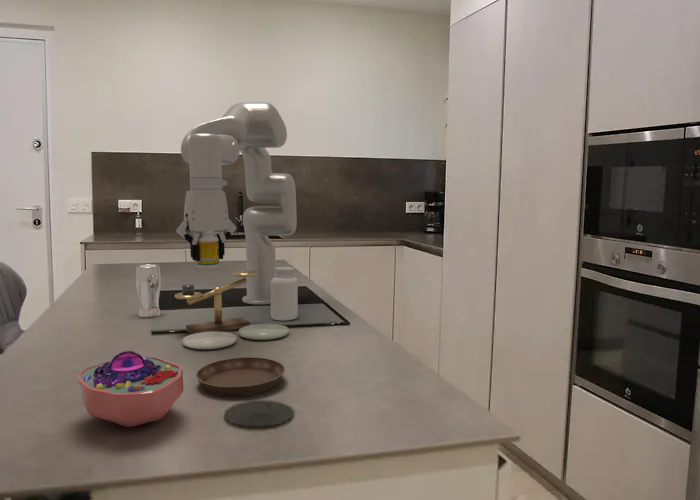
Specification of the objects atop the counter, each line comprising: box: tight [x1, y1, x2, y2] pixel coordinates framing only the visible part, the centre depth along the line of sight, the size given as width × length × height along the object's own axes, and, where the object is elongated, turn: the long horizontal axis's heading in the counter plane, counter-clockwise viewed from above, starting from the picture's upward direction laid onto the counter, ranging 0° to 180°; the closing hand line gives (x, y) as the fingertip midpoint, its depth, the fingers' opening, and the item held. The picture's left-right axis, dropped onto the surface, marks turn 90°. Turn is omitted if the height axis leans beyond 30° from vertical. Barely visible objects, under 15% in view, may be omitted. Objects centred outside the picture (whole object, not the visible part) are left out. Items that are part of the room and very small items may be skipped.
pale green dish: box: [238, 323, 290, 341], centre depth 158 cm, size 13×13×1 cm
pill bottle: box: [270, 266, 299, 322], centre depth 176 cm, size 8×8×15 cm
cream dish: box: [182, 331, 237, 351], centre depth 150 cm, size 13×13×1 cm
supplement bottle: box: [196, 230, 220, 269], centre depth 147 cm, size 5×5×10 cm
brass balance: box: [174, 270, 258, 335], centre depth 163 cm, size 23×7×15 cm, turn 125°
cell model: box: [77, 350, 184, 428], centre depth 103 cm, size 17×20×11 cm
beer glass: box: [135, 263, 162, 319], centre depth 178 cm, size 7×7×15 cm
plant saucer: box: [195, 356, 286, 397], centre depth 122 cm, size 18×18×3 cm
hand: (207, 258), depth 147 cm, fingers closed on supplement bottle, 5 cm apart
